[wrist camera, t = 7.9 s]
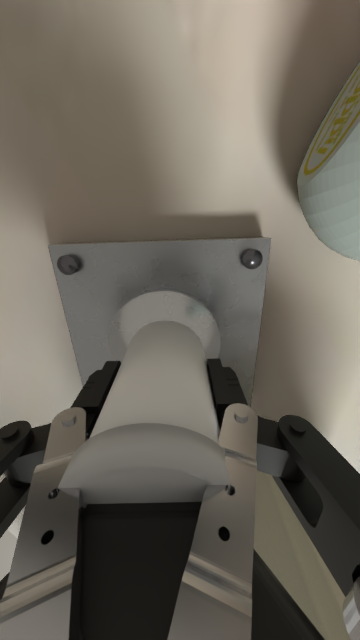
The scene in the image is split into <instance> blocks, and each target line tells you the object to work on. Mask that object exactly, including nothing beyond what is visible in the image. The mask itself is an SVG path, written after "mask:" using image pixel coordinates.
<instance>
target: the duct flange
mask: <svg viewBox="0 0 360 640" xmlns="http://www.w3.org/2000/svg"><path fill="white" fill-rule="evenodd" d="M270 243H271V238H267V237H249V238H218V239H186V240H155V241H124V242H92V243H61V244H52V245H48V248H49V252H50V256H51V260H52V264H53V268H54V272H55V276H56V280H57V284H58V288H59V292H60V296H61V300H62V304H63V308H64V312H65V316H66V320H67V324H68V328H69V332H70V336H71V340H72V344H73V348H74V352H75V356H76V360H77V364H78V368H79V372H80V376H81V380H82V384H83V386H84V385H85V384H86V381H87V380H88V378H89V376H90V375H91V374H93V373H94V372H95V371H96V370H102V368H103V366H104V364H105V362H106V361H120V362H121V363H122V361H123V359H124V356H125V354H126V351H127V349H128V347H129V344H130V342H131V340H132V338H133V336H134V335H135V334H136V333H137V332H138V331H139V330H140V329H141V328H143V327H144V326H146V325H148V324H150V323H153V322H157V321H174V322H178V323H181V324H183V325H185V326H187V327H189V328H190V329H191V330H193V331H194V332H195V333H196V334H197V336H198V337H199V338H200V340H201V342H202V345H203V349H204V353H205V358H206V363H207V359H213V358H220V360H221V363H222V366H223V367H230V368H231V369H232V370H234V371H235V372H236V375H237V378H238V380H239V383H240V386H241V388H242V390H243V393H244V396H245V398H246V401H247V403H248V406H249V407H251V399H252V390H253V382H254V374H255V366H256V358H257V350H258V341H259V333H260V325H261V317H262V309H263V301H264V292H265V284H266V276H267V268H268V260H269V252H270Z"/></svg>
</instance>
